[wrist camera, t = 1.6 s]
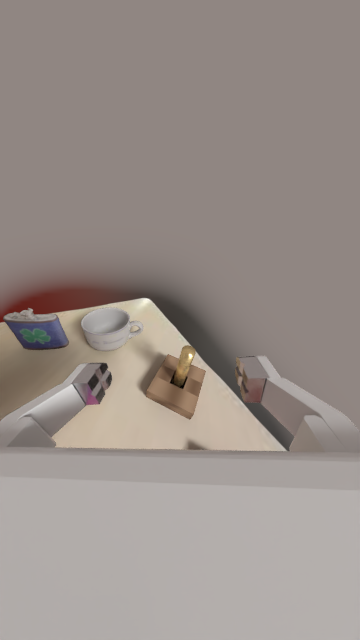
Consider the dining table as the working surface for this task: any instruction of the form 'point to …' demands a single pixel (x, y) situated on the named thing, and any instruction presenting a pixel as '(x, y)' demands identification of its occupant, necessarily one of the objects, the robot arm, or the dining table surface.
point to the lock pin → (183, 365)
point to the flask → (37, 330)
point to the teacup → (108, 328)
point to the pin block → (176, 388)
